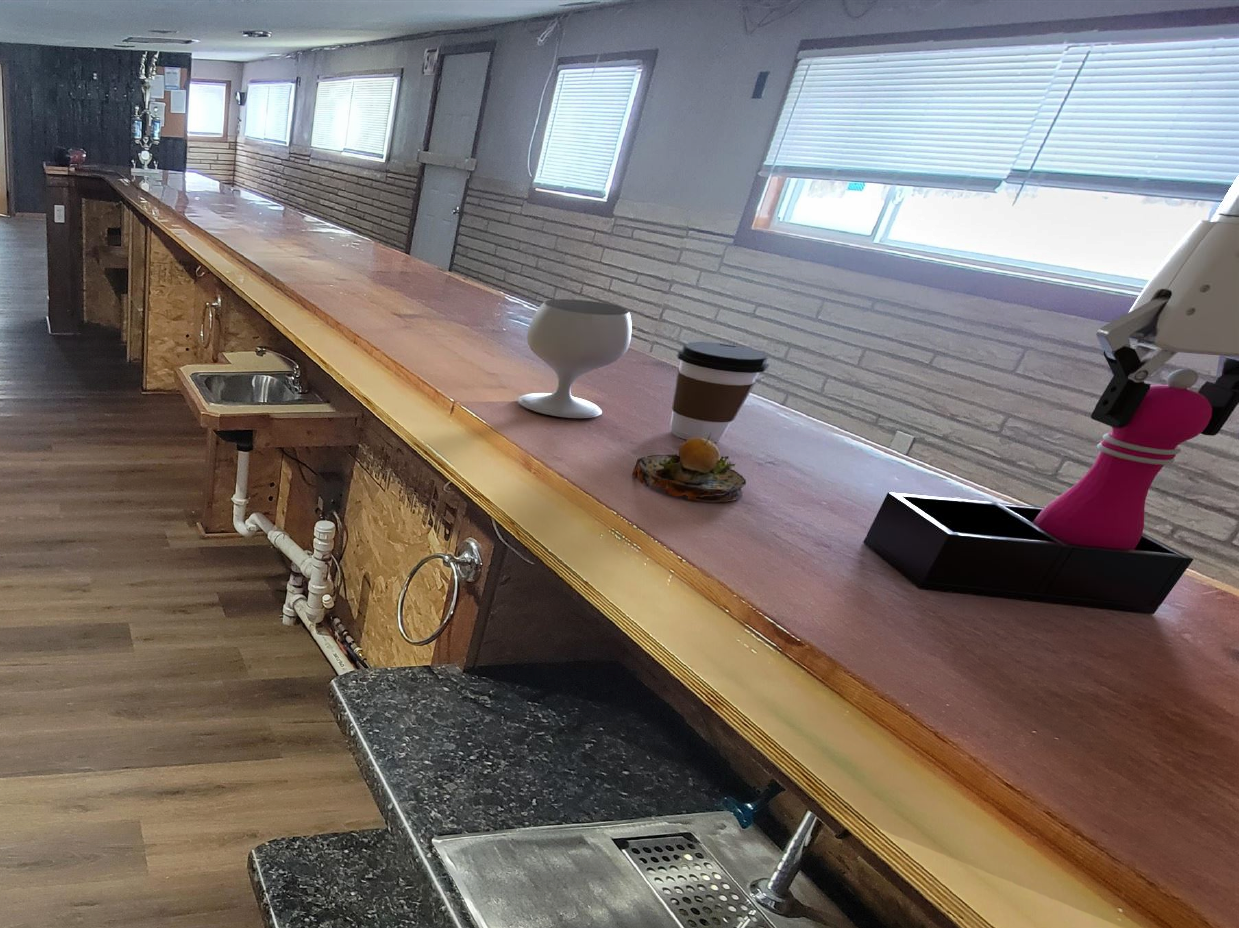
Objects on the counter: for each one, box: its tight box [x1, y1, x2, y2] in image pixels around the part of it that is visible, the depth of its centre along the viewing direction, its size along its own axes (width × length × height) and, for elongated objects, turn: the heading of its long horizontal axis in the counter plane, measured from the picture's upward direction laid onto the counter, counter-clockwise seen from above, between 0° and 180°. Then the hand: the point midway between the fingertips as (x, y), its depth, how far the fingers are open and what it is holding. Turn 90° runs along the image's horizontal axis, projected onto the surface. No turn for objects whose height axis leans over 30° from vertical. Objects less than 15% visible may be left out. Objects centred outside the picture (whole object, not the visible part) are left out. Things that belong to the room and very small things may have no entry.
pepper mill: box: [1033, 368, 1212, 550], centre depth 76 cm, size 7×7×20 cm
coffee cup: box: [670, 341, 770, 443], centre depth 115 cm, size 11×11×12 cm
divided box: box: [863, 491, 1194, 615], centre depth 81 cm, size 20×10×6 cm, turn 80°
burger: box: [632, 432, 747, 503], centre depth 99 cm, size 12×12×8 cm
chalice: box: [517, 298, 633, 419], centre depth 123 cm, size 14×14×15 cm
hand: (1151, 425), depth 74 cm, fingers open, 6 cm apart
